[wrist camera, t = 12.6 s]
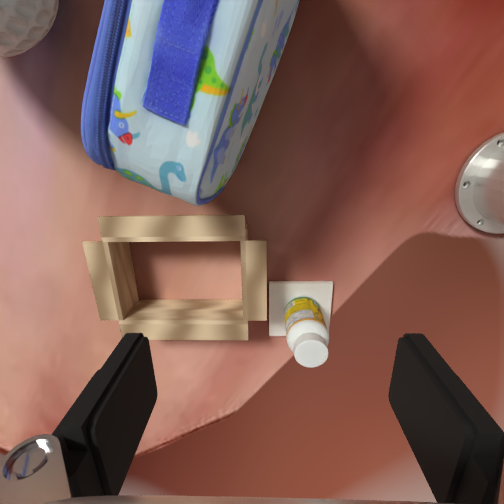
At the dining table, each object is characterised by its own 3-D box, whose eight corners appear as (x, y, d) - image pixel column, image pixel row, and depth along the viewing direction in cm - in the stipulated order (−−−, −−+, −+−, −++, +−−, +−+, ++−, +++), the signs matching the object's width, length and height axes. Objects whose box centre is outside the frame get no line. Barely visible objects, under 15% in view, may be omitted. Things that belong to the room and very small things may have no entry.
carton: (266, 204, 40) (266, 215, 35) (266, 317, 46) (266, 340, 41) (100, 207, 41) (76, 217, 36) (122, 317, 47) (104, 339, 42)
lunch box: (222, -109, 29) (141, -604, 10) (323, -58, 30) (434, -412, 11) (153, 155, 38) (39, 175, 19) (233, 187, 39) (205, 238, 20)
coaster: (332, 280, 43) (333, 282, 43) (327, 333, 47) (328, 336, 46) (269, 281, 44) (269, 283, 43) (269, 333, 47) (269, 336, 46)
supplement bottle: (281, 296, 44) (285, 337, 35) (318, 291, 43) (332, 331, 34) (286, 327, 46) (291, 374, 37) (321, 323, 45) (336, 369, 36)
